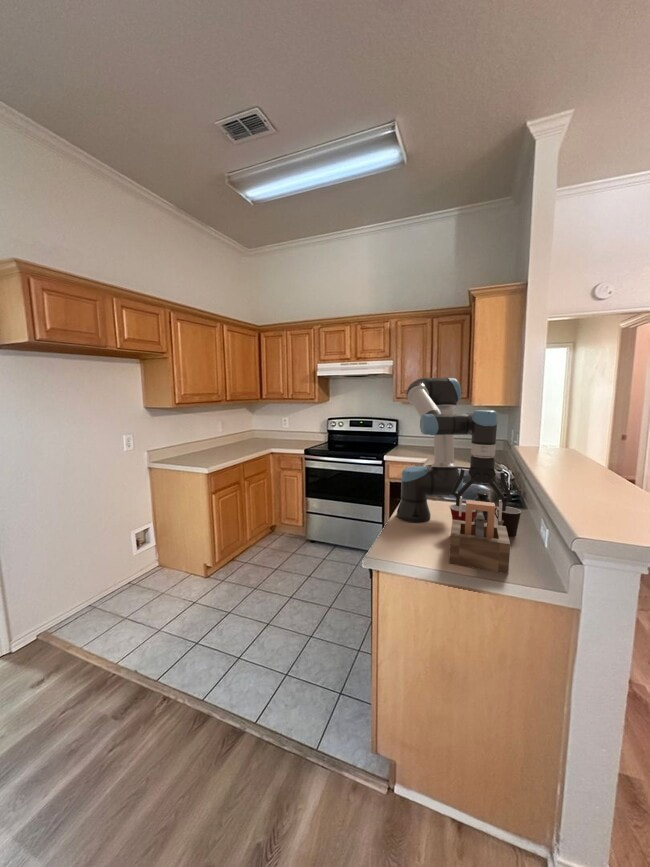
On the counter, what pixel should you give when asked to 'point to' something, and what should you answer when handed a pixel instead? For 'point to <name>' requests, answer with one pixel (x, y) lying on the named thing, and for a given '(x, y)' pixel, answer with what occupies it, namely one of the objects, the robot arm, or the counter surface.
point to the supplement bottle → (483, 500)
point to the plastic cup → (463, 514)
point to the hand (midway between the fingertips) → (479, 517)
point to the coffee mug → (509, 520)
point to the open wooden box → (479, 546)
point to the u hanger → (482, 507)
